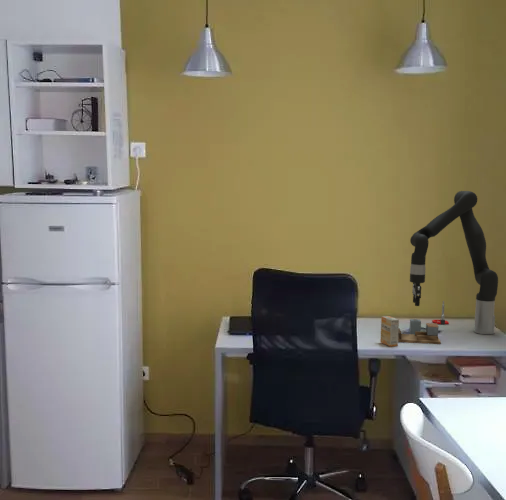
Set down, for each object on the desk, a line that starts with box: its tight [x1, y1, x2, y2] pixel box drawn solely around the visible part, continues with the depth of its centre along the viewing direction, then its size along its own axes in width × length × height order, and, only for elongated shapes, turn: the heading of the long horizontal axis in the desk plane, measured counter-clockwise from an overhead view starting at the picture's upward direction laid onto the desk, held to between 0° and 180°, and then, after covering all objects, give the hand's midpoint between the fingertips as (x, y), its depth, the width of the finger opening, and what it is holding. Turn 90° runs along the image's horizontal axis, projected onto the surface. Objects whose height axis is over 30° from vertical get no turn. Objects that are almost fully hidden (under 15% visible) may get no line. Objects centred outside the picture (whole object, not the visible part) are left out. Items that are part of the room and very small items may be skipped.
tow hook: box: [431, 300, 450, 325], centre depth 361 cm, size 8×13×9 cm
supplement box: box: [379, 315, 400, 348], centre depth 314 cm, size 8×5×13 cm, turn 23°
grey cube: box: [425, 322, 439, 337], centre depth 322 cm, size 5×6×6 cm
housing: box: [408, 317, 422, 334], centre depth 336 cm, size 5×4×8 cm
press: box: [398, 328, 442, 345], centre depth 323 cm, size 20×12×4 cm, turn 83°
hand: (416, 304), depth 334 cm, fingers open, 8 cm apart
